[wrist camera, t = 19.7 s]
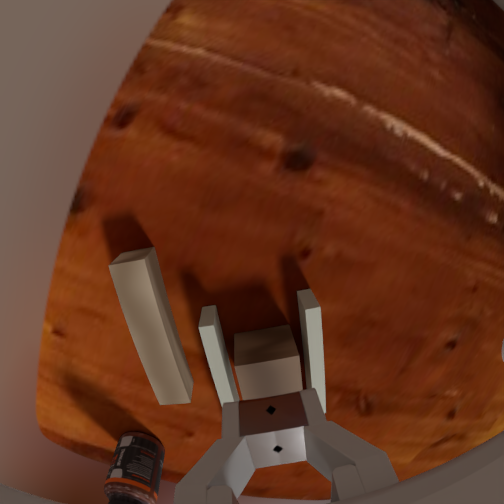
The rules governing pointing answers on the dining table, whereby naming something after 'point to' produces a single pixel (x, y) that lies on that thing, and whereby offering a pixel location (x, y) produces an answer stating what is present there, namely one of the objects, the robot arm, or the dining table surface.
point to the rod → (152, 324)
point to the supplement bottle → (135, 470)
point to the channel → (310, 341)
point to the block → (267, 362)
